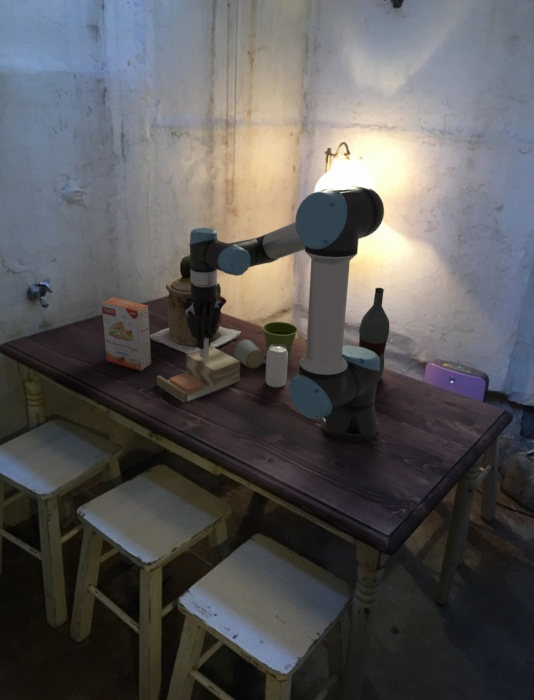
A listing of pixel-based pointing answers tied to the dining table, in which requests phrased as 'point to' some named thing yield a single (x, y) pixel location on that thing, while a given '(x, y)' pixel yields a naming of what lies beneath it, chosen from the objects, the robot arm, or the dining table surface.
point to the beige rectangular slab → (214, 368)
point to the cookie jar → (177, 319)
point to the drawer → (179, 392)
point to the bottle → (375, 329)
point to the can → (276, 366)
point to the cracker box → (127, 333)
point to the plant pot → (280, 334)
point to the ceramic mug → (249, 354)
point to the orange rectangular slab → (187, 383)
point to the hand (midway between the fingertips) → (204, 357)
